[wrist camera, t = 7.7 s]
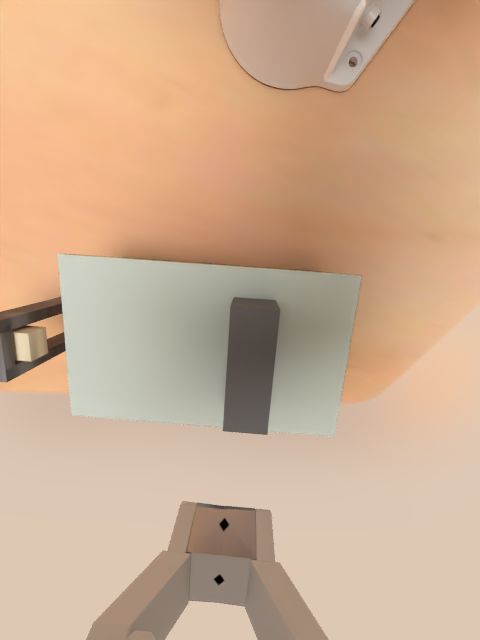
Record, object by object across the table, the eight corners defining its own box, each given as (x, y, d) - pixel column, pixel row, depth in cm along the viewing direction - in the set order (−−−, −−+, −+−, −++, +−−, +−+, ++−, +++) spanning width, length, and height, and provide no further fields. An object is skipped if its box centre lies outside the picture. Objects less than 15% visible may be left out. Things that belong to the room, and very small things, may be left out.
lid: (352, 273, 25) (384, 280, 19) (328, 422, 28) (348, 468, 22) (73, 253, 25) (18, 254, 19) (84, 403, 29) (41, 442, 23)
